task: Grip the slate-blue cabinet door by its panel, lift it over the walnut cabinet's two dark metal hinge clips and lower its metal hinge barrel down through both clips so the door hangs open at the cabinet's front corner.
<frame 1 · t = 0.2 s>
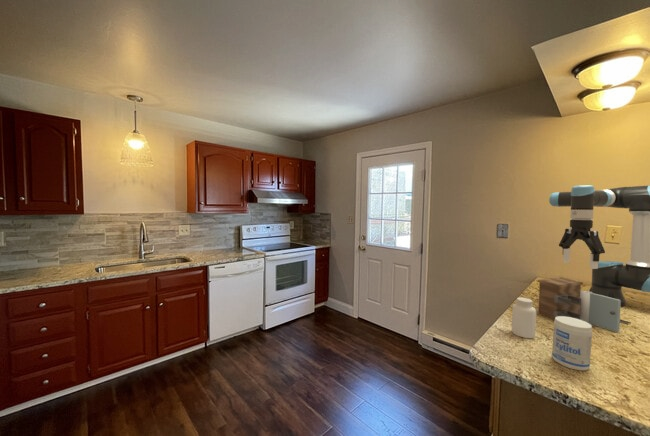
hand: (579, 265, 121), 27 cm above the countertop, tool pointing down, fingers open, 13 cm apart
cabinet: (558, 315, 131), on the countertop
pill bottle: (523, 334, 111), on the countertop
pliers: (600, 316, 131), on the countertop
door: (585, 321, 124), on the countertop
supplement tub: (570, 363, 90), on the countertop
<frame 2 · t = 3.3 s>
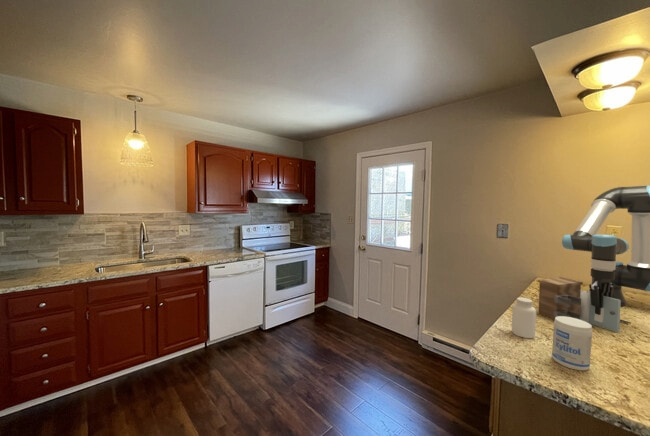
hand: (600, 320, 119), 2 cm above the countertop, tool pointing down, fingers closed on door, 2 cm apart
door: (585, 321, 124), on the countertop, touching gripper
everything else where it was.
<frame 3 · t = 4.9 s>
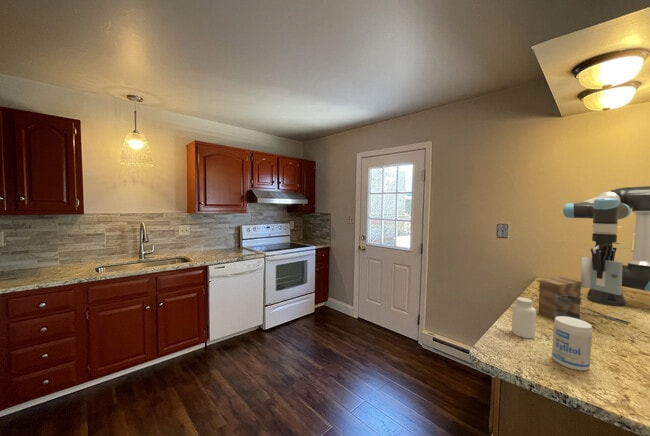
hand: (602, 285, 118), 19 cm above the countertop, tool pointing down, fingers closed on door, 2 cm apart
door: (586, 287, 123), point 16 cm above the countertop, touching gripper
everything else where it was.
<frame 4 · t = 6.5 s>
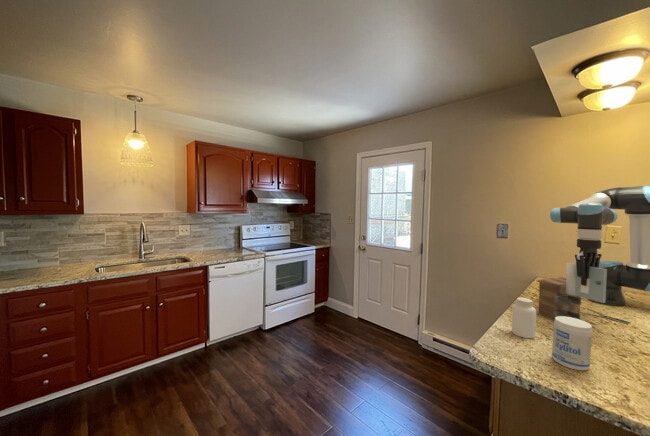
hand: (586, 292, 115), 16 cm above the countertop, tool pointing down, fingers closed on door, 2 cm apart
door: (571, 293, 121), point 14 cm above the countertop, touching gripper
everything else where it was.
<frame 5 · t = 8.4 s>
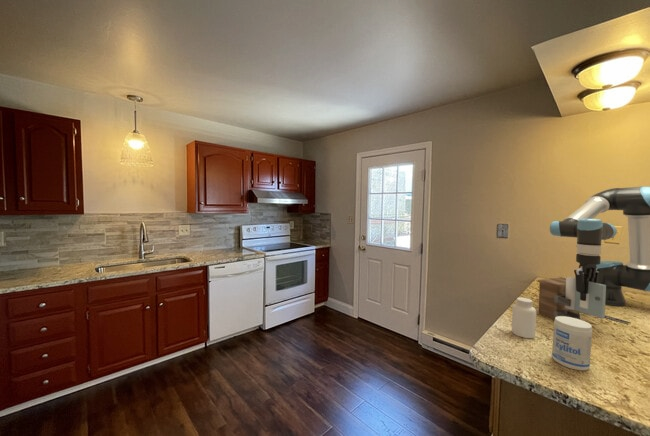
hand: (585, 307, 115), 10 cm above the countertop, tool pointing down, fingers closed on door, 2 cm apart
door: (570, 308, 121), point 7 cm above the countertop, touching gripper
everything else where it was.
when the fingers open (3 cm above the countertop, at t = 9.9 s): door stays where it is, on the countertop.
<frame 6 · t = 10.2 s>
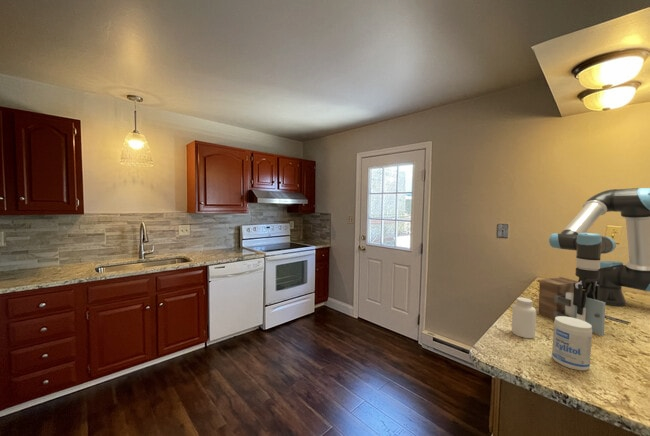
hand: (585, 320, 116), 4 cm above the countertop, tool pointing down, fingers open, 5 cm apart
door: (570, 323, 121), on the countertop
everything else where it was.
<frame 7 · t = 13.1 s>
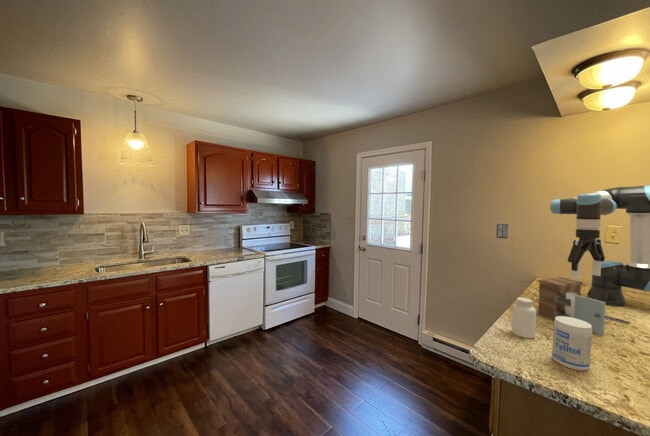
hand: (585, 276, 117), 23 cm above the countertop, tool pointing down, fingers open, 13 cm apart
nothing on the countertop moved.
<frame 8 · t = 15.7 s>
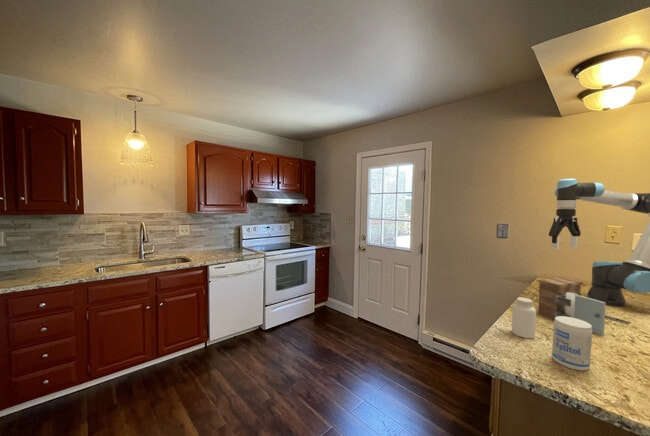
hand: (564, 248, 139), 32 cm above the countertop, tool pointing down, fingers open, 13 cm apart
nothing on the countertop moved.
at the end: door 0.1 cm from the target spot, on the countertop; door tilted 0°; the gripper is holding nothing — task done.
